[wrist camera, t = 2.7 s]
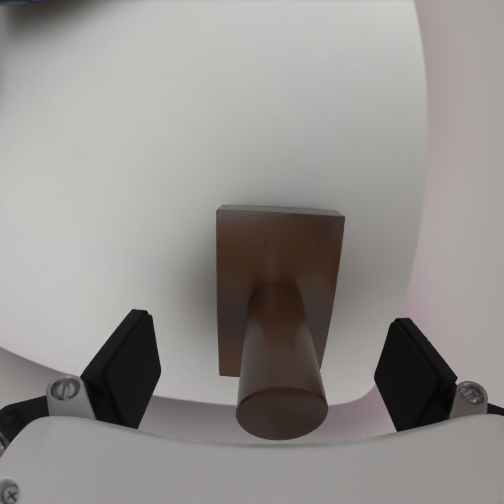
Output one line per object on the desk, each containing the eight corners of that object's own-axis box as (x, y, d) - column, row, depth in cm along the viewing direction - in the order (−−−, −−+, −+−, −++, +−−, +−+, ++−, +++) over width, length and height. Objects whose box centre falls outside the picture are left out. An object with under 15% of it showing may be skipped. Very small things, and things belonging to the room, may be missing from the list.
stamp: (225, 200, 15) (165, 261, 6) (329, 206, 15) (421, 271, 5) (225, 344, 17) (199, 475, 8) (311, 347, 17) (337, 476, 8)
